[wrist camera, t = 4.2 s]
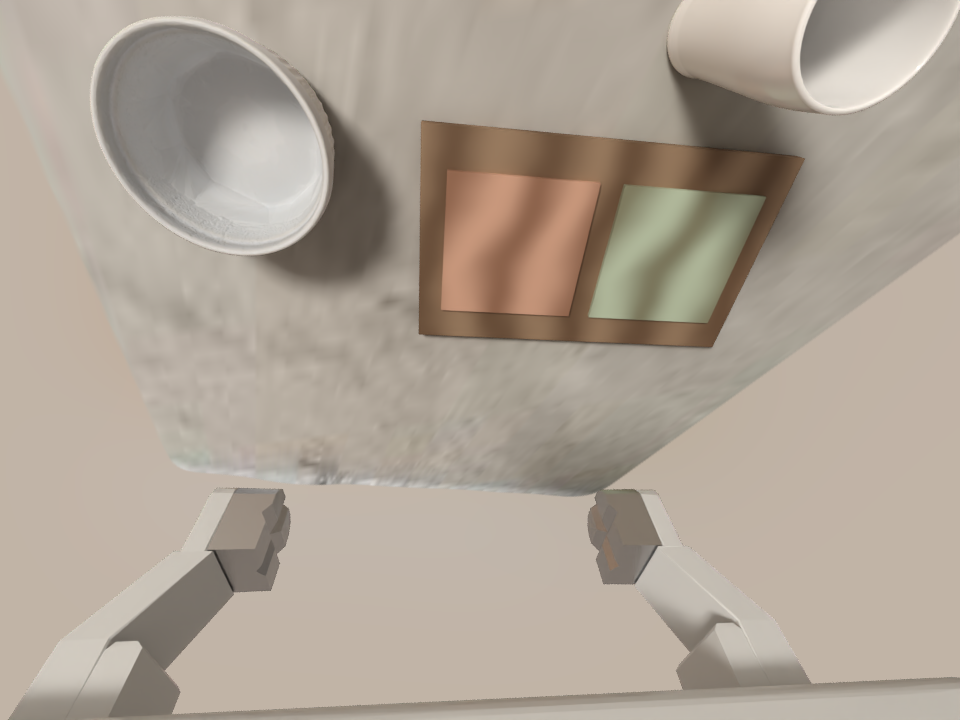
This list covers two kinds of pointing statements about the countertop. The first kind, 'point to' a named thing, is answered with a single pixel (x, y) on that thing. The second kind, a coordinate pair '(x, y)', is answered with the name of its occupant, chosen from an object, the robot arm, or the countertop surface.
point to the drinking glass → (809, 48)
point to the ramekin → (213, 134)
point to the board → (588, 234)
